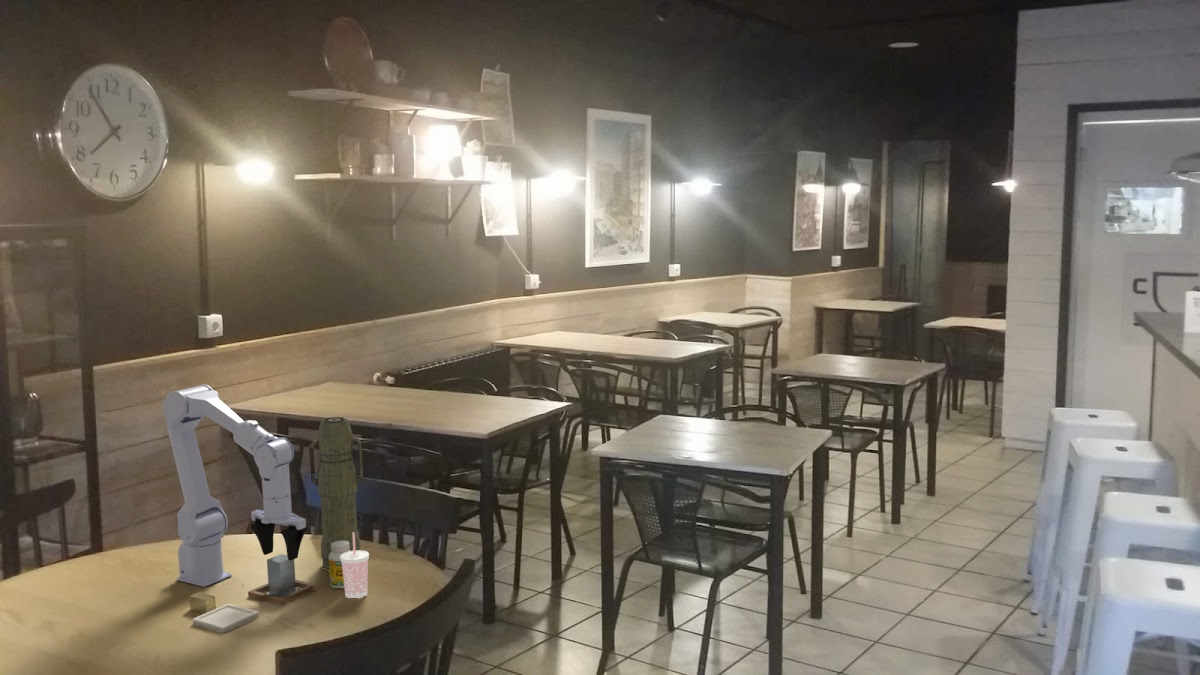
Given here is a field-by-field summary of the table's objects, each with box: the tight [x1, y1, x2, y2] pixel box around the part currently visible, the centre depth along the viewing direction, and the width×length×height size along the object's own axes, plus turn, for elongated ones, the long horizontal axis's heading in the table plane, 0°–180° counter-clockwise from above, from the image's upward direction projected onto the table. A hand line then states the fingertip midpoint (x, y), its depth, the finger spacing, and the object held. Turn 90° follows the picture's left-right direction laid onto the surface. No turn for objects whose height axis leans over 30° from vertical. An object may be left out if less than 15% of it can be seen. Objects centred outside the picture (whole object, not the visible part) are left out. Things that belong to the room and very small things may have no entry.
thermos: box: [308, 416, 364, 571], centre depth 238 cm, size 9×12×35 cm
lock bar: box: [189, 591, 217, 614], centre depth 215 cm, size 5×2×3 cm, turn 60°
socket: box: [247, 579, 317, 606], centre depth 224 cm, size 10×10×1 cm
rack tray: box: [192, 603, 260, 634], centre depth 209 cm, size 9×9×1 cm
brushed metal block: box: [266, 553, 297, 598], centre depth 223 cm, size 4×4×8 cm
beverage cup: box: [340, 532, 370, 599], centre depth 221 cm, size 6×6×14 cm
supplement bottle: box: [328, 541, 350, 589], centre depth 228 cm, size 5×5×10 cm
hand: (280, 556), depth 223 cm, fingers open, 7 cm apart
